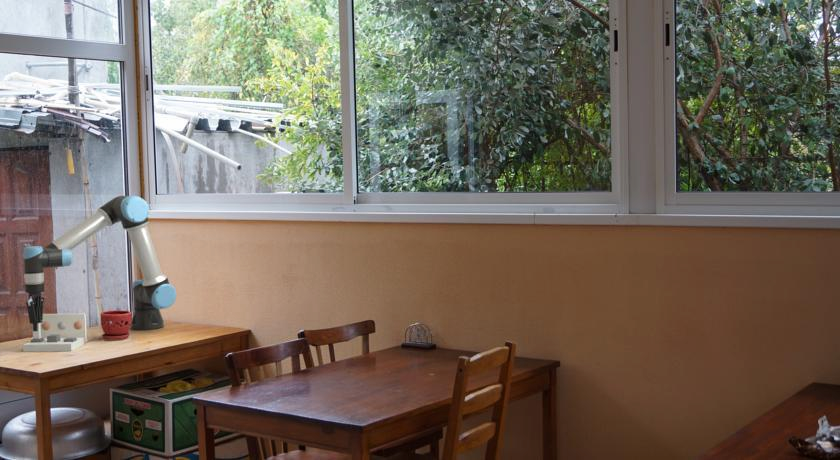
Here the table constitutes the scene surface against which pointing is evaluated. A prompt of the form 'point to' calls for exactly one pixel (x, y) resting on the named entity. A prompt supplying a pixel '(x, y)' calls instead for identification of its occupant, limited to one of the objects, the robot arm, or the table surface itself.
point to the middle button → (53, 338)
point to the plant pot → (116, 324)
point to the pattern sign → (64, 325)
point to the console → (52, 345)
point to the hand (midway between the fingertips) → (37, 338)
